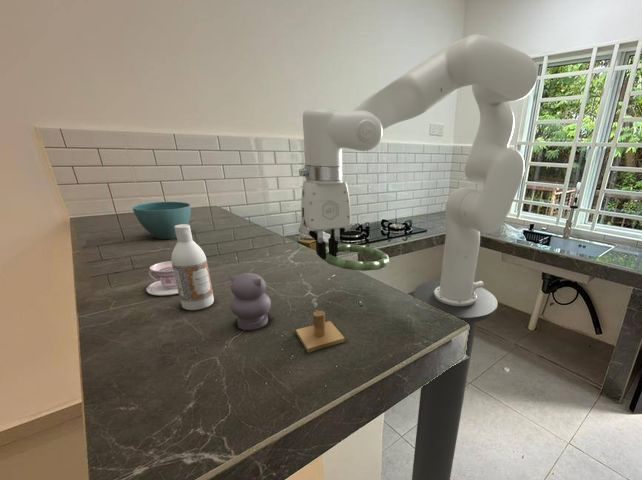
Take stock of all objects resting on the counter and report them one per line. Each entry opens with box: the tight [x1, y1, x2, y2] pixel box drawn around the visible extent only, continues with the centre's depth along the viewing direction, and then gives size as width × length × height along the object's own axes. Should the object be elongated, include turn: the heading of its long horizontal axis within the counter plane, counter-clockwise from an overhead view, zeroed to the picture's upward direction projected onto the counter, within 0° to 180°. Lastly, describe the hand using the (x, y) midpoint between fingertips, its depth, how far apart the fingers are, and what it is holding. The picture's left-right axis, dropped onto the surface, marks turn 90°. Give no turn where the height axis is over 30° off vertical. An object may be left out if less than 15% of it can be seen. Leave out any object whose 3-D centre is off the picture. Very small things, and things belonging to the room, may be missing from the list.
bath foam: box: [170, 224, 215, 311], centre depth 76 cm, size 7×7×20 cm
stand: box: [295, 310, 346, 354], centre depth 69 cm, size 8×8×6 cm
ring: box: [323, 243, 390, 272], centre depth 79 cm, size 17×17×2 cm
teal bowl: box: [132, 201, 192, 240], centre depth 127 cm, size 18×18×12 cm
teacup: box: [145, 260, 179, 297], centre depth 87 cm, size 12×12×6 cm
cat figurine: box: [227, 272, 272, 331], centre depth 72 cm, size 8×8×12 cm
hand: (327, 256), depth 75 cm, fingers closed on ring, 2 cm apart
